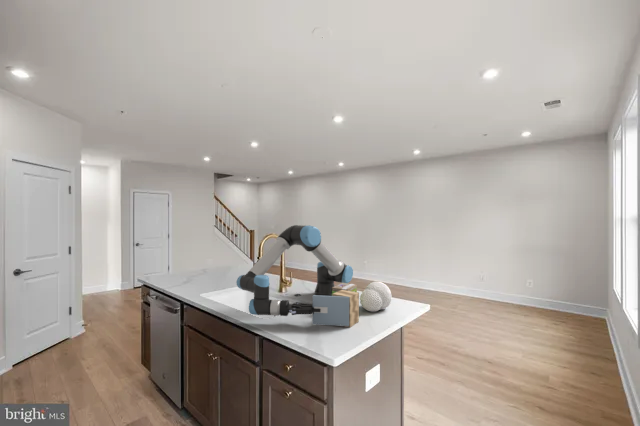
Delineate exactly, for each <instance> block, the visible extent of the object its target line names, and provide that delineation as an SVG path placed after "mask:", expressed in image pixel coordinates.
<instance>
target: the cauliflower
mask: <svg viewBox="0 0 640 426" xmlns="http://www.w3.org/2000/svg"><path fill="white" fill-rule="evenodd" d="M392 297H393V296H392V292H391V289H390V288H389V286H388V285H387V284H385V283H383V282H381V281H372V282H370V283H369V284H368V285H367V286H366V287H365V289H363V291H362V292H361V294H360V295H359V304H360V305H361V307H362V308H363V309H364V310H366V311H368V312H373V313H374V312H377V311H379V310H380V311H381V310H384V309H386V308H389V306H390V304H391V302H392Z"/></svg>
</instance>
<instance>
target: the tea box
mask: <svg viewBox="0 0 640 426" xmlns="http://www.w3.org/2000/svg"><path fill="white" fill-rule="evenodd" d="M340 290H346V291H352V292H358V285H357V284H354V283H338V284H336V285H335V286H334V287H332V294H333V293H336V292H338V291H340Z"/></svg>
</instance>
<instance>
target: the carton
mask: <svg viewBox="0 0 640 426" xmlns="http://www.w3.org/2000/svg"><path fill="white" fill-rule="evenodd" d="M332 296H342V297H349V326H344V327H345V328H352V327H353V326H355V325H356V324H358V323H359V320H360V317H359V315H360V314H359V313H360V292H358V291H357V292H352V291H346V290H340V291H338V292H336V293H333V294H332Z"/></svg>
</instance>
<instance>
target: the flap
mask: <svg viewBox="0 0 640 426" xmlns="http://www.w3.org/2000/svg"><path fill="white" fill-rule="evenodd" d="M312 304H313V307H328V313H314V314H313V315H312V323H311V324H312V325H324V326H339V327H340V326H341V327H345V326H349V297H342V296H320V295H315V294H314V295H312Z"/></svg>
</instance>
